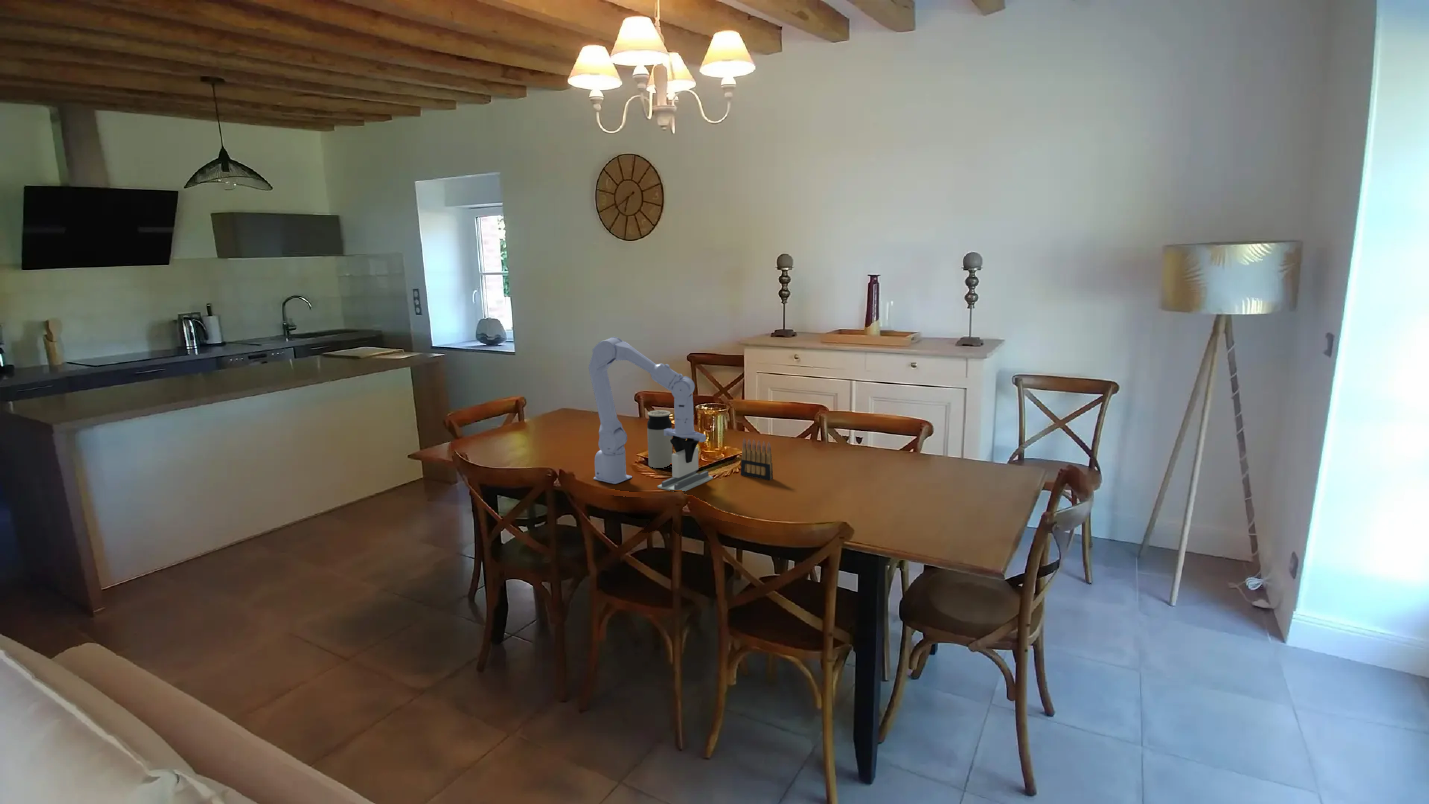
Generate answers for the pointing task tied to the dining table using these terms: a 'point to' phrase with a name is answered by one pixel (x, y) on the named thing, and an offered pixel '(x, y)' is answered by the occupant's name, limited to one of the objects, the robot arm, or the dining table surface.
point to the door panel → (683, 463)
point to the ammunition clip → (756, 460)
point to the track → (685, 481)
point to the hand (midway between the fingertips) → (685, 461)
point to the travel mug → (659, 439)
